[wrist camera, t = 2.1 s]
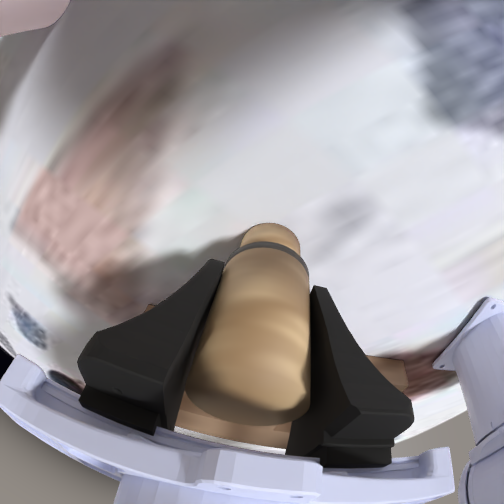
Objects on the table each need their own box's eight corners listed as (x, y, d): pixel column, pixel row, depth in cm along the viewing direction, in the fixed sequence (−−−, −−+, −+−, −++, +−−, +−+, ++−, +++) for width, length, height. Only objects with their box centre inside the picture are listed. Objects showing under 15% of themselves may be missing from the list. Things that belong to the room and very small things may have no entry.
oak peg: (317, 227, 15) (331, 383, 7) (294, 285, 17) (287, 432, 10) (241, 207, 15) (187, 352, 7) (228, 268, 17) (183, 410, 10)
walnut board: (403, 360, 20) (408, 385, 18) (325, 434, 29) (324, 452, 27) (148, 304, 20) (135, 329, 18) (156, 399, 29) (149, 417, 27)
